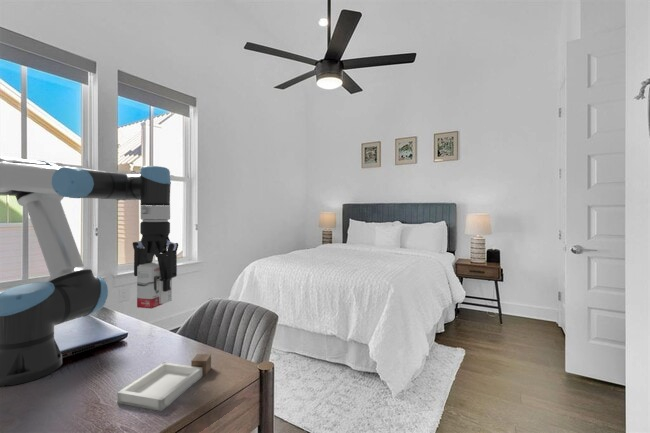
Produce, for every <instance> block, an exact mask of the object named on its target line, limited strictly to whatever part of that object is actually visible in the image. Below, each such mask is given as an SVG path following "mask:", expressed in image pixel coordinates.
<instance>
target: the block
mask: <svg viewBox="0 0 650 433" xmlns="http://www.w3.org/2000/svg"><path fill="white" fill-rule="evenodd" d="M190 364H191V365H190V366H195V367H202V376H207V375H208V373H209V372H210V370H211V369H212V354H211V353H206V354H205V353H204V354H203V353H197V354H196V355H195V356H194V357H193V358H192V360H191V363H190Z"/></svg>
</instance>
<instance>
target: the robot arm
mask: <svg viewBox="0 0 650 433" xmlns="http://www.w3.org/2000/svg"><path fill="white" fill-rule="evenodd" d="M171 182H172V181H171V171H170V169H169V168H167V167H164V166H158V165H143V166H141V168H140V172H139V173H138V174H137V173H132V174H131V173H121V172H114V171H113V172H112V171H104V170H96V169H90V168H82V167H77V166H59V165H57V164H55V163H54V162H53V163H52V162H47V161H44V160H33V159H32V160H31V159H26V158H25V159H24V158H18V157H10V156H3V155H0V195H4V196H6V195H7V196H15V198H16V202H17V204H18V205H19V206H21V207H24V208H26V210H27V213H28V217H29V219H30V221H31V225H32V227H33V229H34V230H33V231H34V233H35V237H36V238H37V242H38V244H39V248H40V250H41V254H42V256H43V259H44V262H45V264H46V267H47V269H48V273H49V278H48V280H47V281H38V282H37V281H36V282H33V283H25V284H21V285H17V286H13V287H11V288H8V289H6V290H4V291H1V293H0V387H8V385H9V386H16V385H19V384H23V383H29V382H32V381H35V380H38V379H41V378H43V377H46V376H47V375H49V374H52V373H53V372H56V370H58V369H59V368H61V367H62V365H63V354H62V352H61V350H60V348H59V345H58V344H57V341H56V339H55V326H58V325H61V324H64V323H67V322H70V321H72V320H73V321H74V320H75V319H79V318H84V317H87V316H90V315H91V314H93V313H96V312H98V311H100V310H101V309H102V308H103V307H104V306H105V304H106V302H107V299H108V296H109V289H108V285H107V281H105V279H103V278H102V277H101V276H96V275H94V273H93V270H92V268H88V267H86V266H84V263H83V260H82V256H81V253H80V252H79V248H78V245H77V243H76V242H75V238H74V234H73V232H72V230H71V228H70V224H69V222H68V219H67V215H66V214H65V213H66V212H65V211H64V207H63V204H62V202H61V201H62V200H63V199H64V198H69V199H97V200H98V199H100V200H116V201H138V200H139V201H140V220H142V221H140V232H139V233H140V235H141V236H142V237H141V239H140V240H139V241H133V242H132V248H133V251H134V252H133V254H134V255H133V276H134V277H137V266H139V265H142V264H147V263H152V262H154V261H153V260H154V257H156V259H157V261H158V264H159V269H160V273H161V278H162V279H160V281H159V304H162V303H164V304H166V303H165V302H167V301H168V291H169V290H170V279H171V278H172V279H173V278H176V277H177V274H178V273H177V272H178V269H177V268H178V267H177V266H178V265H177V264H178V263H177V260H178V258H177V256H178V255H177V252H178V247H179V243H178V242H172V241H171V240H170V238H169V235H170V233H171V222H170V219H171V185H172V184H171ZM167 303H168V302H167ZM162 305H163V304H162ZM5 385H7V386H5Z"/></svg>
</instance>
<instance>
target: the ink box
mask: <svg viewBox="0 0 650 433" xmlns="http://www.w3.org/2000/svg"><path fill="white" fill-rule="evenodd" d="M160 279H162V278H161V273H160V269H159V264H158V260H157V261H152V263H147V264H142V265H139V266H137V276H136V308H138V309H139V308H141V309H154V308H157V307H160V306H162V305H164V304H167V303H169V302H171V301H172V299H173V298H172V297H173V296H172V293H173V292H172V289H173V288H172V287H173V286H172V285H173V284H172V283H173V278H171V279H170V290H169V291H168V301H167V302H165V303H162V304H159V281H160Z"/></svg>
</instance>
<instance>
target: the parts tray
mask: <svg viewBox="0 0 650 433" xmlns="http://www.w3.org/2000/svg"><path fill="white" fill-rule="evenodd" d="M202 377H203V375H202V367H195V366H191V365H187V364H179V363H173V362H172V363H171V362H162V363H161V364H159V365H158V366H155V367H154V368H153V369H151V370H150V371H149V372H146V373H145V374H143V375H142V376H140V377H139V378H137V379H135V381H133V382H131V383H130V384H128V385H127V386H125V387H123V388H122V389H121V390H119V391H118V392H117V393H116V396H117V398H116V400H117V404H121V405H125V406H126V405H127V406H132V407H137V408H143V409H148V410H154V411H159V412H162V411H164V410H165V409H167V407H169V406H170V405H171V404H172V403H173V402H175V401H176V399H178V398H179V397H180V396H182V395H183V394H184V393H185V392H186V391H187V390H189V389H190V388H191V387H192V386H194V385H195V384H196V383H197V382H198V381H200V379H201V378H202Z"/></svg>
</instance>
